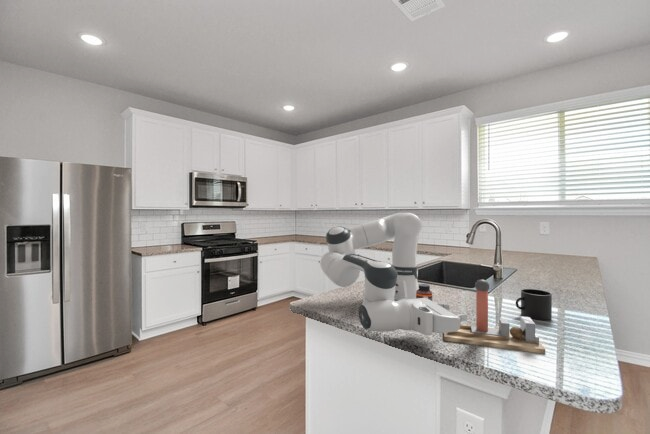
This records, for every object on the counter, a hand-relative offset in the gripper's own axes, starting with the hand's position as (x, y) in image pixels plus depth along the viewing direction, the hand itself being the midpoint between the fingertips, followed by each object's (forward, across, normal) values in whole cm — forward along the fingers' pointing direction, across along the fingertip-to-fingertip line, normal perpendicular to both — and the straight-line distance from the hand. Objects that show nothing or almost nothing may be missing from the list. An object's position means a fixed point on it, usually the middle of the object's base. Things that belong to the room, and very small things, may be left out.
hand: (456, 311), depth 93 cm
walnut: (+17, +4, -8) cm, 19 cm away
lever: (+11, +1, -7) cm, 13 cm away
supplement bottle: (+1, -24, -9) cm, 26 cm away
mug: (+40, -15, -9) cm, 44 cm away
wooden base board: (+10, +1, -9) cm, 14 cm away
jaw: (+20, +6, -8) cm, 22 cm away
